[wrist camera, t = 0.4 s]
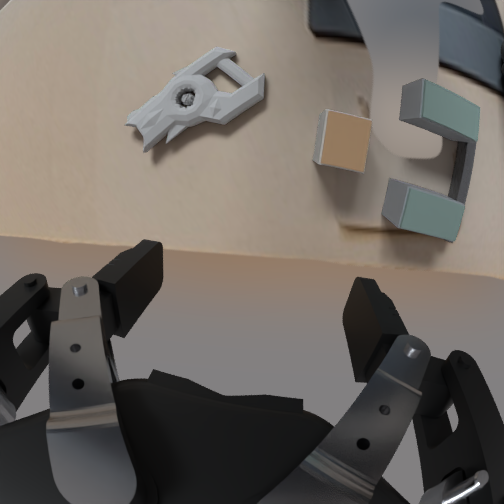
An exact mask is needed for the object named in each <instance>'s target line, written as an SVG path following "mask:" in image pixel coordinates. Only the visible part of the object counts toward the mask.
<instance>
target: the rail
mask: <svg viewBox="0 0 504 504" xmlns="http://www.w3.org/2000/svg"><path fill="white" fill-rule="evenodd" d="M475 149H476V143H470V142H461V141H458V147H457V153H456V160H455V165H454V171H453V176H452V181H451V186H450V190H449V194H448V197H450V198H452V199H454V200H456V201H459V202H461V203H463V204H464V205H465V201H466V197H467V193H468V188H469V184H470V179H471V174H472V168H473V162H474V156H475ZM444 240H445V239H444ZM445 241H448V242H452V243H453V241H449V240H445Z"/></svg>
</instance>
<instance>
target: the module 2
mask: <svg viewBox="0 0 504 504" xmlns="http://www.w3.org/2000/svg"><path fill="white" fill-rule="evenodd" d="M479 119H480V107H479V106H477V105H475V104H473V103H472V102H470V101H468V100H466V99H465V98H463V97H461V96H459V95H457V94H455V93H453V92H451V91H449V90H447V89H445V88H443V87H441V86H439V85H437V84H435V83H433V82H430V81H428V80H426V79H423V78H422V79H419V80H417V81H414V82H411V83H409V84H406V85H404V86H403V87H402V99H401V109H400V117H399V120H401V121H404V122H406V123H409V124H412V125H415V126H417V127H420V128H423V129H425V130H428V131H430V132H433V133H435V134H438V135H440V136H442V137H445V138H447V139H449V140H452V141H461V142H470V143H476V141H477V140H478V131H479Z"/></svg>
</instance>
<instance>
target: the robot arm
mask: <svg viewBox="0 0 504 504" xmlns="http://www.w3.org/2000/svg"><path fill="white" fill-rule="evenodd" d="M162 282H163V246H162V243H161V242H157V241H151V240H146V239H144V240H142V241H141V242H140V243H139V244H137V245H136V246H135V247H134V248H133V249H132V248H131V249H129V250H126V251H124V252H122V253H120V254H119V255H118V256H116V257H115V258H114V259H113V260H112V261H110V262H109V264H107V265H106V266H105V267H103V268H102V269H101V270H100V271H99V272H97V273H96V274H95V275H94V276H93V277H92V278H91V277H77V278H73V279H71V280H69V281H67V282H66V283H65V284H64V285H63V287H62V288H50V287H48V284H47V280H46V277H45V276H44V275H42V274H37V273H35V274H29V275H26V276H24V277H22V278H21V279H20V280H18V281H17V282H16V283H15V284H14V285H12V286H11V287H10V288H9V289H8V290H6V291H5V292H4V293H3V294H2V295H1V296H0V504H410V503H409V502H408V501H407V500H406V499H404V498H403V497H402V496H401V495H400V494H399V493H398V492H397V491H396V490H395V489H394V488H393V487H392V486H391V485H390V484H389V483H388V482H387V481H386V480H385V479H384V478H383V477H382V475H383V473H384V471H385V470H386V468H387V466H388V465H389V463H390V461H391V459H392V458H393V456H394V454H395V452H396V450H397V448H398V446H399V445H400V443H401V441H402V439H403V436H404V435H405V433H406V431H407V428H408V426H409V424H410V422H411V420H412V419H413V424H414V429H415V434H416V439H417V445H418V451H419V457H420V463H421V470H422V478H423V487H424V494H423V496H422V498H421V500H420V503H419V504H504V424H503V421H502V419H501V416H500V413H499V411H498V409H497V406H496V404H495V402H494V399H493V397H492V394H491V392H490V390H489V388H488V386H487V384H486V381H485V379H484V377H483V375H482V373H481V371H480V369H479V367H478V365H477V363H476V361H475V360H474V359H473V358H472V357H471V356H470V355H469V354H467V353H466V352H463V351H460V350H455V351H452V352H451V353H450V355H449V356H448V358H447V359H446V360H443V359H440V358H436V357H433V356H431V353H430V350H429V348H428V346H427V345H426V344H425V343H424V342H423V341H422V340H421V339H419V338H417V337H415V336H412V335H409V334H408V332H407V329H406V327H405V326H404V323H403V321H402V319H401V317H400V316H399V313H398V311H397V310H396V308H395V306H394V304H393V302H392V300H391V299H390V298H389V297H387V295H386V294H385V293H382V292H381V291H380V289H379V287H378V285H377V283H376V281H375V280H374V279H368V278H362V277H357V278H356V279H355V281H354V283H353V286H352V289H351V291H350V294H349V297H348V300H347V303H346V305H345V308H344V312H343V326H344V330H345V335H346V339H347V343H348V348H349V353H350V357H351V362H352V367H353V371H354V377H355V382H364V383H367V385H366V386H365V388H364V389H363V390H362V392H361V393H360V395H359V396H358V397H357V399H356V400H355V401H354V403H353V404H352V405H351V407H350V408H349V409H348V411H347V412H346V413H345V414H344V416H343V417H342V418H341V419H340V421H339V422H338V423H337V424H336V425H335V427H334V426H333V425H331V424H330V423H329V422H327V421H326V420H324V419H322V418H321V417H319V416H317V415H315V414H313V413H310V412H308V411H305V410H303V399H296V398H287V397H280V396H272V395H248V396H247V395H245V396H225V395H221V394H219V393H217V392H214V391H212V390H210V389H208V388H206V387H204V386H201V385H199V384H197V383H195V382H193V381H191V380H189V379H186V378H182V377H178V376H175V375H171V374H168V373H164V372H161V371H157V370H154V369H153V371H152V373H151V374H150V376H149V378H148V379H127V380H122V381H119V377H118V373H117V369H116V364H115V359H114V354H113V349H112V344H111V341H110V338H111V337H112V335H113V334H114V335H117V336H120V337H123V338H125V336H126V335H127V334H128V332H129V331H130V329H131V328H132V327H133V325H134V324H135V322H136V321H137V319H138V318H139V317H140V315H141V314H142V313H143V311H144V310H145V309H146V307H147V306H148V305H149V303H150V302H151V301H152V299H153V298H154V296H155V295H156V294H157V293H158V291H159V290H160V288H161V286H162ZM25 320H27V322H28V325H29V327H30V329H31V332H30V333H29V335H28V336H27V337H26V338H25V339H24V340H23V341H22V343H21V344H20V345H19V346H18V347H17V349H16V348H15V346H14V344H13V335H14V333H15V331H16V330H17V329H18V328H19V327H20V325H21V324H22V323H23V322H24V321H25ZM48 364H49V403H50V409H47V410H45V411H42V412H39V413H36V414H33V415H31V416H28V417H25V418H22V419H19V420H16V421H15V418H16V411H17V410H18V408H19V407H20V405H21V403H22V402H23V400H24V399H25V397H26V395H27V394H28V393H29V391H30V390H31V388H32V387H33V385H34V384H35V382H36V381H37V379H38V378H39V376H40V375H41V373H42V372H43V371H44V369H45V368H46V366H47V365H48ZM453 403H454V406H455V409H456V412H457V414H458V419H459V421H458V426H457V428H456V430H455V431H454V432H452V428H451V424H450V421H449V418H448V414H447V410H448V409H449V408H450V406H451V405H452V404H453Z"/></svg>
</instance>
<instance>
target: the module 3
mask: <svg viewBox="0 0 504 504" xmlns="http://www.w3.org/2000/svg"><path fill="white" fill-rule="evenodd" d="M464 209H465V206H464V204H463V203H461V202H459V201H456V200H454V199H452V198H450V197H448V196H446V195H444V194H441V193H438V192H435V191H432V190H429V189H426V188H423V187H420V186H416V185H413V184H410V183H406V182H403V181H399V180H396V179H392V178H389V183H388V188H387V192H386V197H385V201H384V205H383V210H382V215H383V216H385V217H386V218H387V219H388V220H389V221H390V222H392V223H393V224H394V225H395V226H396V227H397V228H400V229H405V230H409V231H413V232H417V233H421V234H426V235H430V236H434V237H438V238H441V239H445V240H449V241H453V242H454V241H455V240H456V237H457V233H458V230H459V227H460V223H461V220H462V216H463V213H464Z"/></svg>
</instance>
